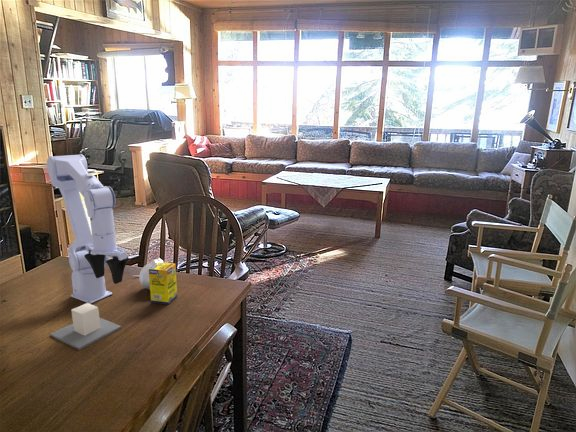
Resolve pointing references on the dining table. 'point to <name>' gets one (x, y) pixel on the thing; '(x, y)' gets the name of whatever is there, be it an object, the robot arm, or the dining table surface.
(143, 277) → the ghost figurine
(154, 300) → the supplement box
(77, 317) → the cream block
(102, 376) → the dining table surface
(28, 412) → the dining table surface
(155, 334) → the dining table surface
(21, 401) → the dining table surface
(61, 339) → the gray mat
